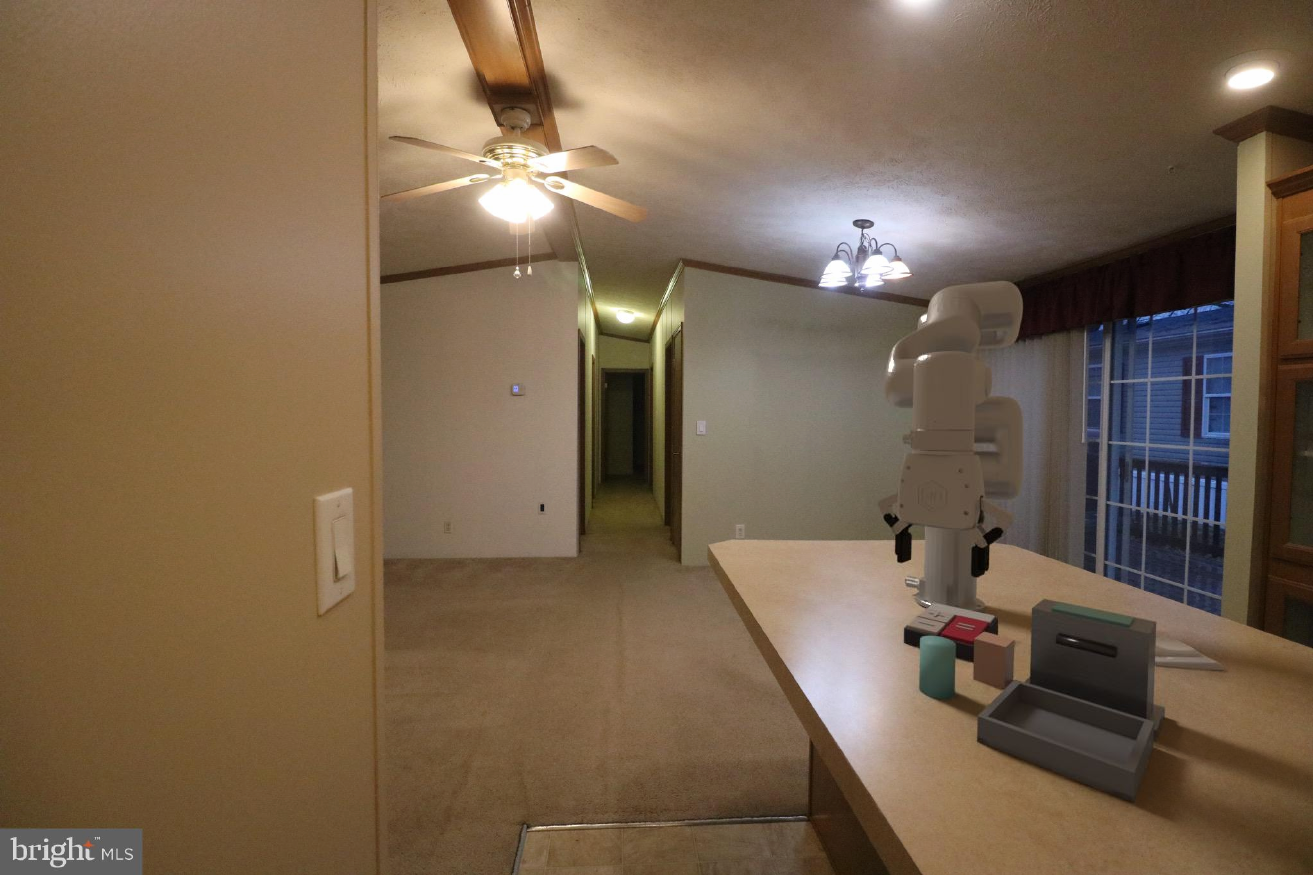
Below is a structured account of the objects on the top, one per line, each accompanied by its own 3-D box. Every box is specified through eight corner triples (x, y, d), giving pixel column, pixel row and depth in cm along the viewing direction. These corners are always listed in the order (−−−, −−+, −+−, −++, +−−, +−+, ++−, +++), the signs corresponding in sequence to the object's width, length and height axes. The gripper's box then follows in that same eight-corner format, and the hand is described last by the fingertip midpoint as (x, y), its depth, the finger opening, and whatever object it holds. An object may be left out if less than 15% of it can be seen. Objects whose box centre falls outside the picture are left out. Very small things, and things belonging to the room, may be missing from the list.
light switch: (1087, 621, 97) (1172, 622, 95) (1088, 644, 97) (1173, 646, 95) (1126, 645, 86) (1223, 647, 84) (1127, 672, 87) (1224, 674, 84)
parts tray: (976, 741, 65) (977, 716, 65) (1014, 701, 75) (1014, 679, 74) (1133, 802, 55) (1134, 772, 55) (1153, 747, 64) (1154, 721, 64)
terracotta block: (973, 679, 81) (974, 638, 81) (982, 671, 84) (983, 631, 83) (1004, 689, 78) (1005, 646, 78) (1013, 680, 81) (1014, 639, 80)
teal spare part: (913, 691, 77) (914, 641, 77) (926, 681, 80) (927, 633, 80) (947, 703, 74) (948, 651, 74) (959, 692, 77) (960, 642, 77)
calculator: (902, 623, 94) (931, 598, 105) (902, 648, 94) (931, 621, 105) (975, 642, 86) (999, 613, 97) (975, 668, 87) (998, 637, 97)
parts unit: (1018, 696, 76) (1020, 605, 75) (1035, 678, 81) (1037, 593, 81) (1155, 741, 65) (1159, 635, 65) (1164, 716, 71) (1168, 619, 70)
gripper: (868, 441, 80) (866, 560, 80) (1005, 446, 67) (1001, 587, 67) (892, 441, 85) (890, 553, 85) (1024, 445, 72) (1020, 576, 72)
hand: (939, 568), depth 76 cm, fingers open, 9 cm apart
